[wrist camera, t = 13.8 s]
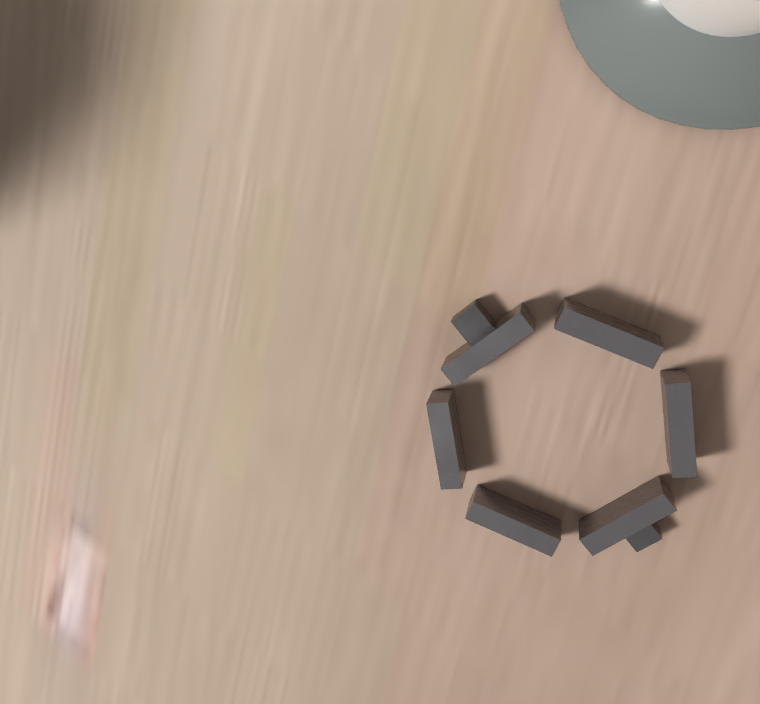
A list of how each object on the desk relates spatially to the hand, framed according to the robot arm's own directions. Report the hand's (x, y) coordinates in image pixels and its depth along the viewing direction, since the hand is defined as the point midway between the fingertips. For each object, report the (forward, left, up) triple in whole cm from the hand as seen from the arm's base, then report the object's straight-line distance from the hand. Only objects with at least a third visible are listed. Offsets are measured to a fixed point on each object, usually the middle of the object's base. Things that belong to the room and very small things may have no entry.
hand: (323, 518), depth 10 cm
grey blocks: (+11, -4, -30) cm, 32 cm away
